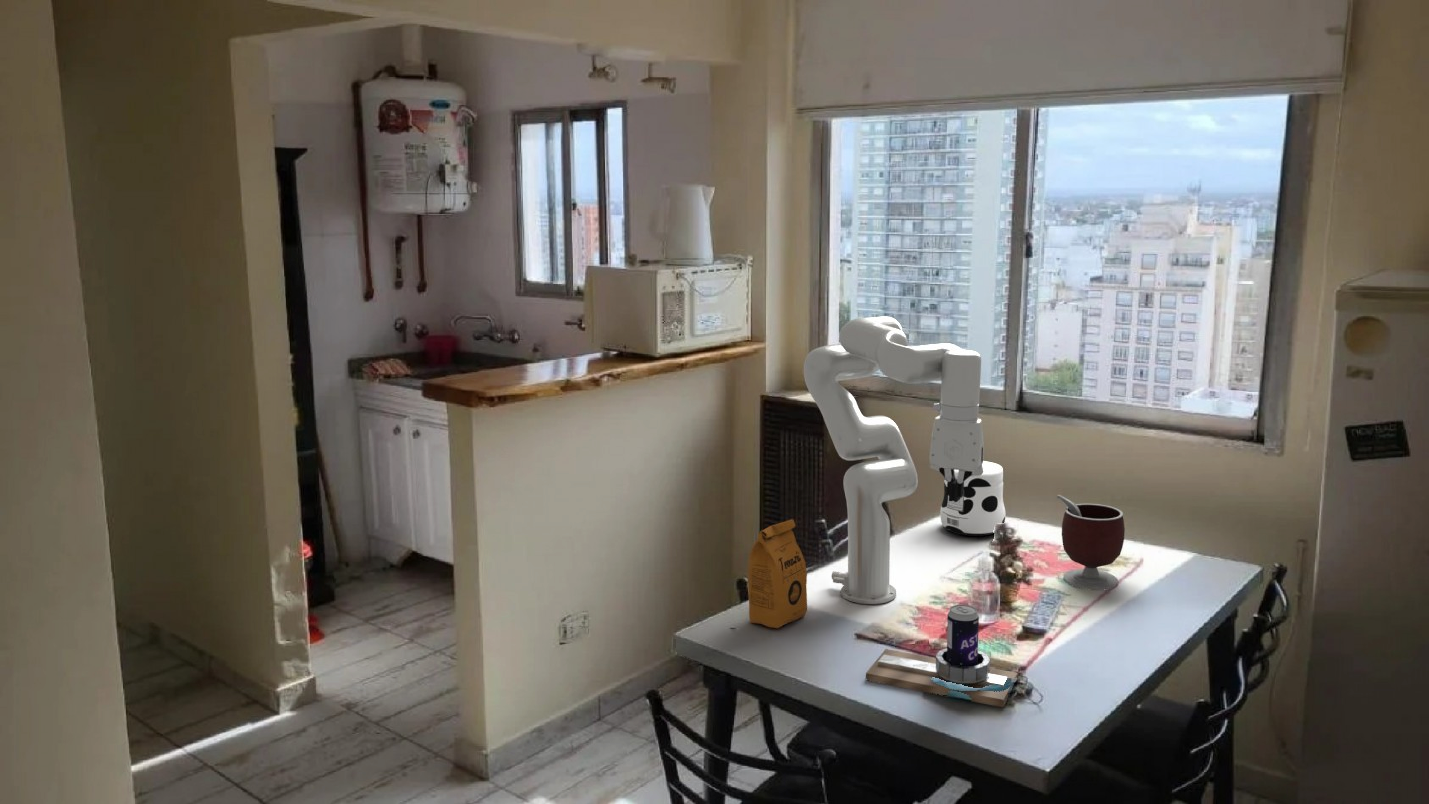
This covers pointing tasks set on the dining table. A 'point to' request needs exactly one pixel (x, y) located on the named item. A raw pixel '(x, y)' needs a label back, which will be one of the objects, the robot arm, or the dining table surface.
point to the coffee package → (777, 577)
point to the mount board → (927, 685)
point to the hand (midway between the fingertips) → (954, 499)
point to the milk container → (976, 503)
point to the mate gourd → (1092, 543)
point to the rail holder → (948, 669)
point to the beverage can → (962, 636)
